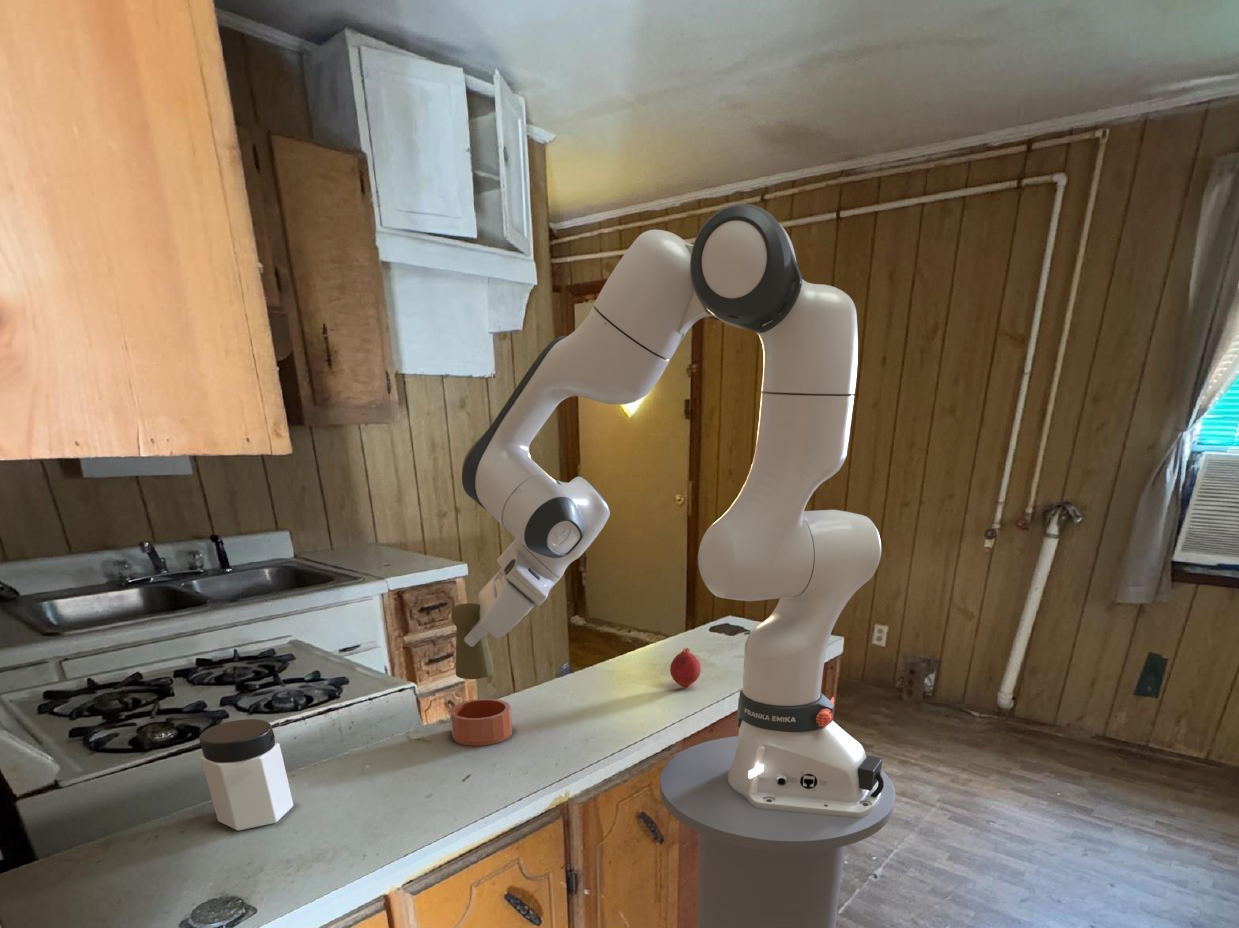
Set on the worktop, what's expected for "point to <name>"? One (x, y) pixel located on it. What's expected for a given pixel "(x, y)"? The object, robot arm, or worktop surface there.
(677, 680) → the pomegranate
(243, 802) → the jar
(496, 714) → the bowl
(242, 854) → the worktop surface
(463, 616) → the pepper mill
